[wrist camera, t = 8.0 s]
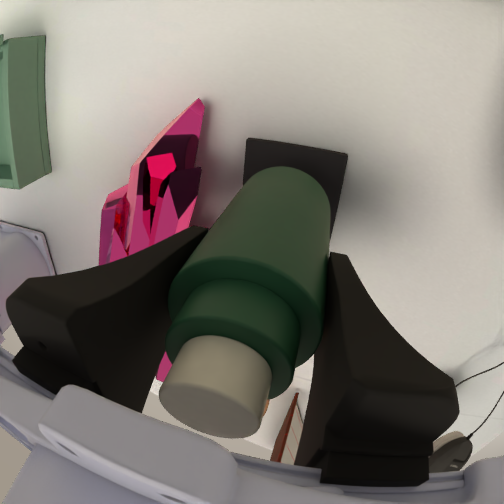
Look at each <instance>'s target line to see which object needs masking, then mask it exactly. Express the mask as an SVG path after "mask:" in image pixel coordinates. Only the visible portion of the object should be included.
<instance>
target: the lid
mask: <svg viewBox="0 0 504 504" xmlns="http://www.w3.org/2000/svg"><path fill="white" fill-rule="evenodd" d="M3 37H4V35H3V34H2V35H0V46H1V45H3Z"/></svg>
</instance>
